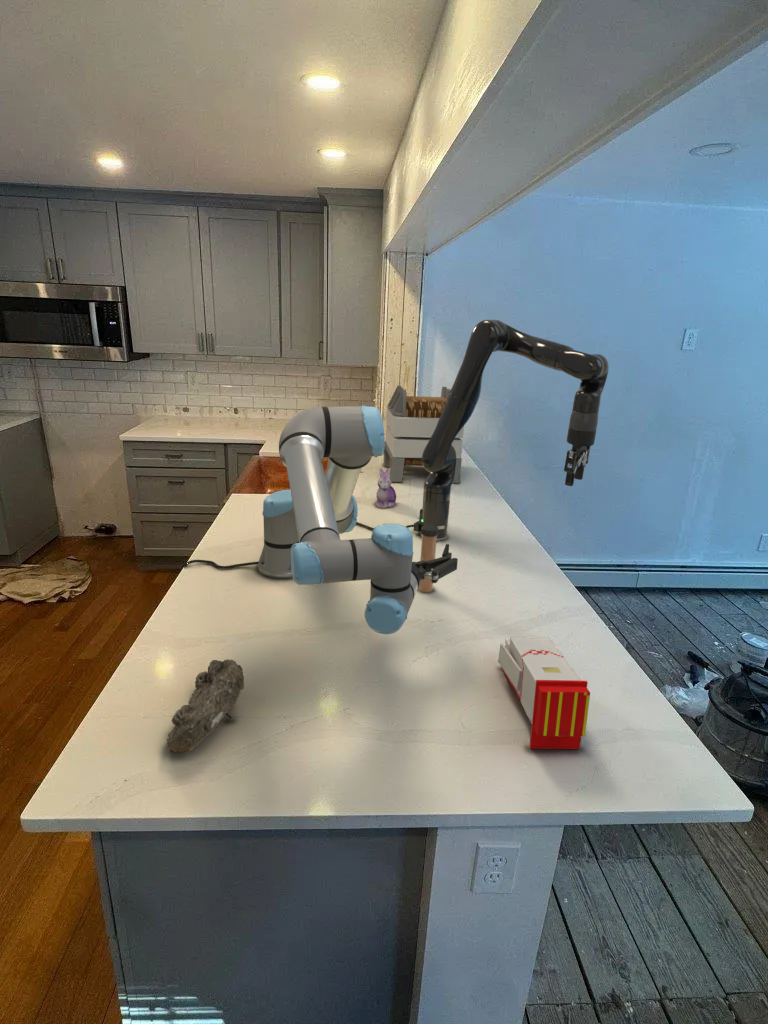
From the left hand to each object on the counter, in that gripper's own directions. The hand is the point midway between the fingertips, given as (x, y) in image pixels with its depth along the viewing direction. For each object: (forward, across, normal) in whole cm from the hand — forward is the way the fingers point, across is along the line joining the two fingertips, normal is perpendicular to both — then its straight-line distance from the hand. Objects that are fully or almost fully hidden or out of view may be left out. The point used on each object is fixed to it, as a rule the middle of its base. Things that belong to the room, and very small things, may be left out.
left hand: (419, 545), depth 136 cm
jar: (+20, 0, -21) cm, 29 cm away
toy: (-22, +30, -22) cm, 43 cm away
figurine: (+86, -28, -20) cm, 93 cm away
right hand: (+43, +37, +8) cm, 58 cm away
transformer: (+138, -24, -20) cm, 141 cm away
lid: (+19, 0, -3) cm, 20 cm away
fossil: (-46, -30, -22) cm, 59 cm away
